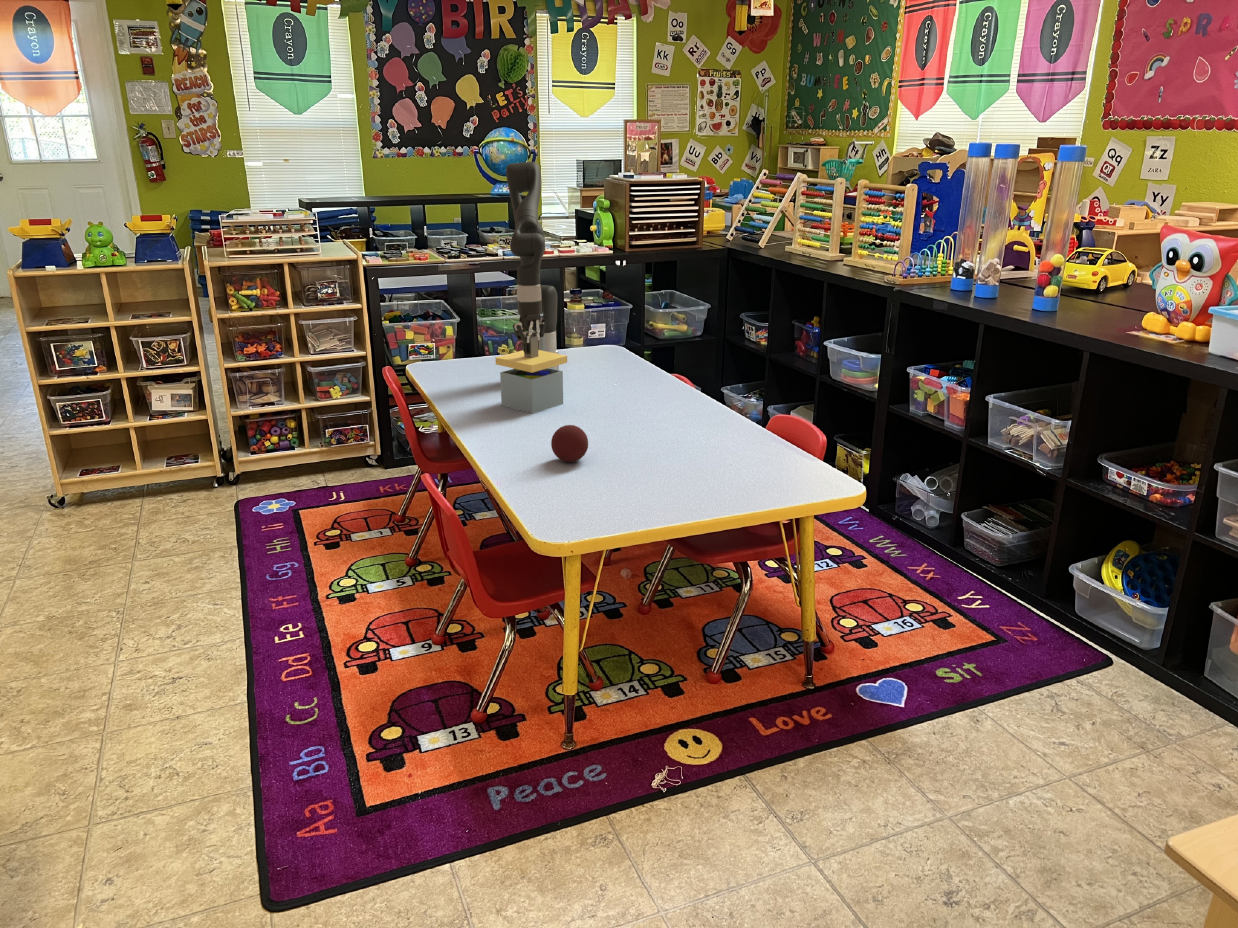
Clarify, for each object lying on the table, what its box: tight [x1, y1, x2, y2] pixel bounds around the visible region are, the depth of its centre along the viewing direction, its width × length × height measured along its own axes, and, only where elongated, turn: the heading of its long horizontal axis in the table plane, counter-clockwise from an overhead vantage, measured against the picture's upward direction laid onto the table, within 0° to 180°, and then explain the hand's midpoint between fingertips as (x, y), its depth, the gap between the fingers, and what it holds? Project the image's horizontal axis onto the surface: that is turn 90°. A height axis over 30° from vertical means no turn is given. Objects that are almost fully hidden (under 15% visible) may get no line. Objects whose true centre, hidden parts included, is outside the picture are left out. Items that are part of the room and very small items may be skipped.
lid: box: [494, 335, 568, 373], centre depth 287 cm, size 16×16×9 cm
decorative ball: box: [550, 424, 589, 463], centre depth 241 cm, size 10×10×10 cm
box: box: [499, 368, 564, 414], centre depth 291 cm, size 14×14×11 cm
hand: (531, 352), depth 287 cm, fingers closed on lid, 3 cm apart
